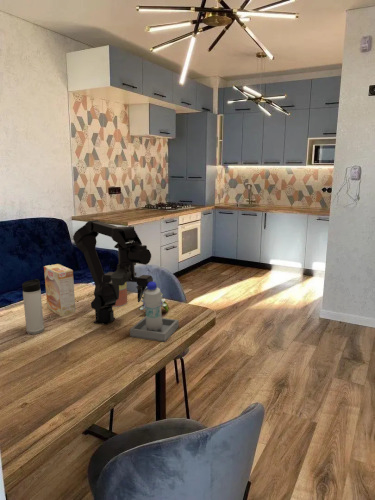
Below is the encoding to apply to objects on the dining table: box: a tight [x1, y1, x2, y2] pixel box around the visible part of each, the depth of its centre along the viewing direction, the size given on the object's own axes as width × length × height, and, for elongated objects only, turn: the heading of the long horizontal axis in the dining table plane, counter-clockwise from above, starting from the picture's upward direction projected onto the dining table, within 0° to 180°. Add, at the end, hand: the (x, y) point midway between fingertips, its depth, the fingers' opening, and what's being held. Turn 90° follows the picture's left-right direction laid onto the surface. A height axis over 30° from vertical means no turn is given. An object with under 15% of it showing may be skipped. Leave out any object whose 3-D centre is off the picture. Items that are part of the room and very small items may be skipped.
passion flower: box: [138, 292, 170, 313], centre depth 164 cm, size 11×11×12 cm
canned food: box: [112, 282, 128, 308], centre depth 176 cm, size 11×11×12 cm
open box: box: [129, 315, 180, 343], centre depth 144 cm, size 14×14×3 cm
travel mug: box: [21, 278, 45, 335], centre depth 144 cm, size 6×7×20 cm
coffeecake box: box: [43, 263, 77, 317], centre depth 166 cm, size 15×7×20 cm, turn 42°
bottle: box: [143, 281, 163, 332], centre depth 141 cm, size 7×7×20 cm
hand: (128, 300), depth 144 cm, fingers open, 9 cm apart
